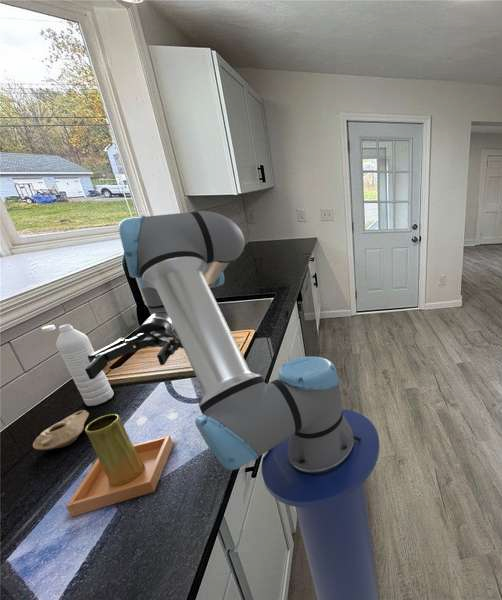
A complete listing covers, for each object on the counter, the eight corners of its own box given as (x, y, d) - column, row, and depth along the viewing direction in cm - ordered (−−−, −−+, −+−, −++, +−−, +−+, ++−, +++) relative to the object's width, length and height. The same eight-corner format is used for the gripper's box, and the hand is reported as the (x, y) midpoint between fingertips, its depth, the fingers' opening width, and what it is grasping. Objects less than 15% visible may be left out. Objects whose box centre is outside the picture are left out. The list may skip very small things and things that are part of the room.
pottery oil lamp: (106, 415, 87) (99, 402, 83) (72, 460, 78) (63, 448, 74) (68, 411, 85) (60, 397, 81) (30, 456, 76) (17, 443, 72)
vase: (151, 464, 71) (128, 413, 66) (124, 488, 65) (97, 435, 60) (130, 460, 72) (106, 410, 67) (101, 484, 66) (73, 431, 61)
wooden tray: (173, 444, 77) (169, 435, 76) (154, 491, 65) (149, 481, 64) (105, 462, 73) (100, 452, 72) (71, 516, 61) (65, 506, 60)
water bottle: (119, 391, 98) (86, 319, 89) (103, 405, 92) (66, 329, 83) (89, 394, 97) (53, 322, 88) (71, 408, 91) (31, 332, 82)
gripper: (208, 332, 96) (192, 367, 77) (109, 350, 88) (64, 394, 70) (202, 310, 93) (183, 341, 75) (99, 326, 86) (49, 365, 67)
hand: (125, 366), depth 72 cm, fingers open, 13 cm apart
